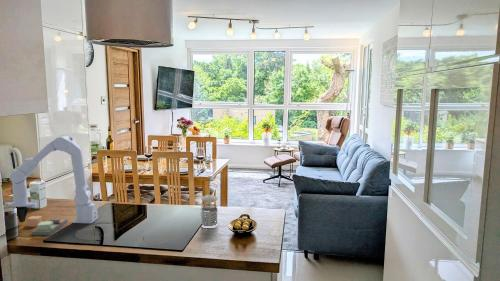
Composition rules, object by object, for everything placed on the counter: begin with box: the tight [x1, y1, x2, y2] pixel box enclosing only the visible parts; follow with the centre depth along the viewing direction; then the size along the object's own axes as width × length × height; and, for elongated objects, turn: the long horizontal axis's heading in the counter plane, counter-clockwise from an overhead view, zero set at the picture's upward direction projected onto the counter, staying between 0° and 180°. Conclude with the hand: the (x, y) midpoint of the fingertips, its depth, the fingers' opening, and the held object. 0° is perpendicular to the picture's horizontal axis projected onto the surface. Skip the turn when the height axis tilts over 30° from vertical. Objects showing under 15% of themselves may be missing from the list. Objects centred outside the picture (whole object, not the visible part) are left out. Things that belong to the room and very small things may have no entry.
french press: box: [200, 175, 219, 226], centre depth 171 cm, size 10×12×25 cm
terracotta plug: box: [26, 215, 44, 228], centre depth 170 cm, size 5×4×4 cm
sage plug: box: [37, 220, 54, 231], centre depth 163 cm, size 5×4×4 cm
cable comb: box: [31, 218, 68, 236], centre depth 166 cm, size 8×16×2 cm, turn 179°
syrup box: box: [28, 180, 48, 210], centre depth 194 cm, size 6×6×14 cm
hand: (22, 221), depth 170 cm, fingers closed
